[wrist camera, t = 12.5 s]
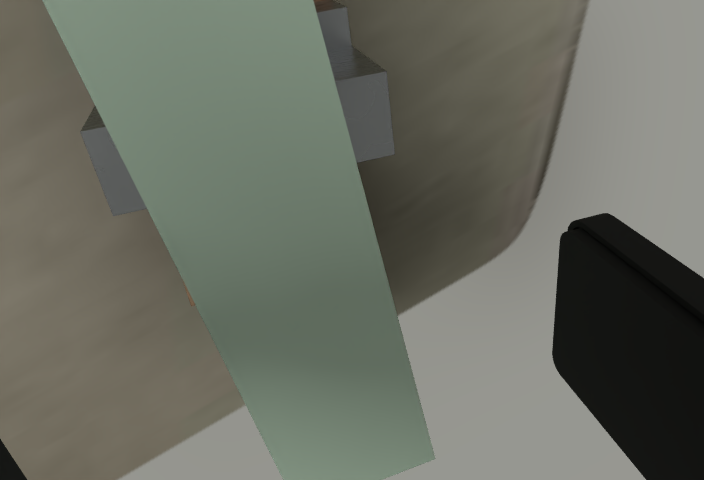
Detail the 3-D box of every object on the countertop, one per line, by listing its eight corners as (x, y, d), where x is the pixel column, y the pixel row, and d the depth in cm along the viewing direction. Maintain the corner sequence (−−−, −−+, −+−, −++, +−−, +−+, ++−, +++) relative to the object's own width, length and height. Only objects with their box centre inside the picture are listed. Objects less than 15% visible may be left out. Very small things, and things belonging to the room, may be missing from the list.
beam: (-16, -261, 13) (-151, -383, 8) (191, -314, 14) (190, -463, 8) (277, 390, 24) (299, 511, 19) (386, 350, 25) (435, 458, 20)
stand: (29, -190, 21) (-76, -266, 13) (293, -221, 22) (348, -308, 14) (191, 291, 32) (190, 413, 24) (361, 250, 33) (414, 352, 25)
